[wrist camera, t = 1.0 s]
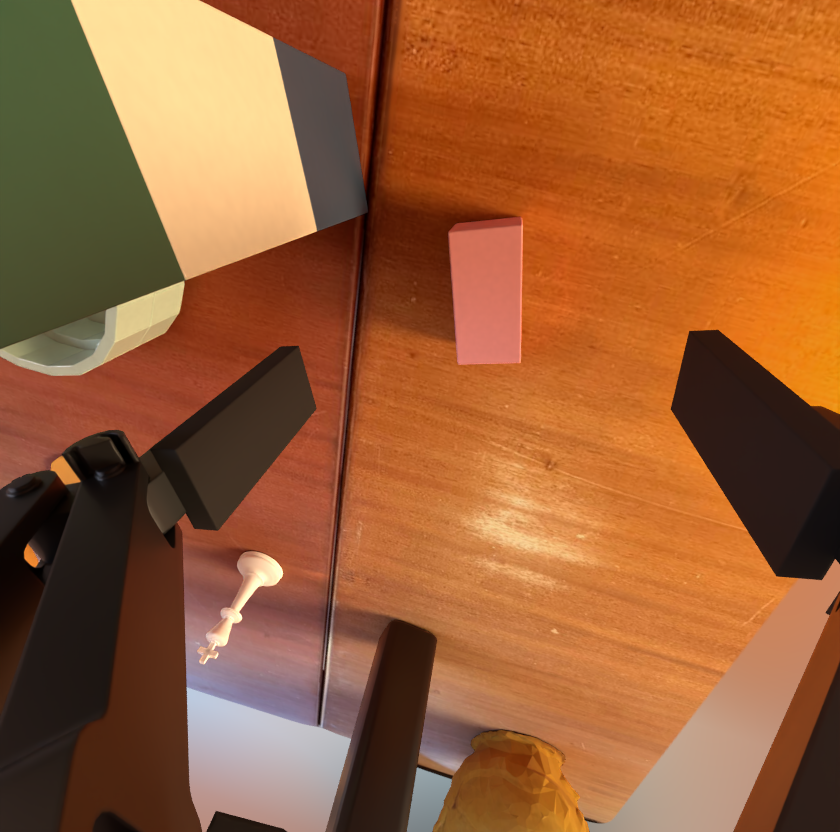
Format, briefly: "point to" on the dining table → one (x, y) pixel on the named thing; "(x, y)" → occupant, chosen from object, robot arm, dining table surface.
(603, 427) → the dining table surface
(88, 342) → the bowl
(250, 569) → the chess piece
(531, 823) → the pitcher
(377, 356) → the dining table surface
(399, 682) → the wine bottle
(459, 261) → the eraser
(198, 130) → the book stack
